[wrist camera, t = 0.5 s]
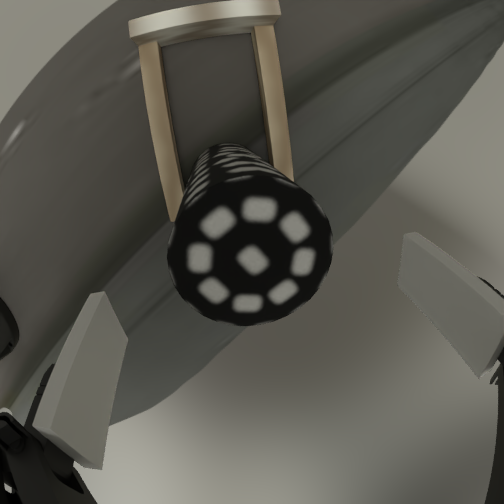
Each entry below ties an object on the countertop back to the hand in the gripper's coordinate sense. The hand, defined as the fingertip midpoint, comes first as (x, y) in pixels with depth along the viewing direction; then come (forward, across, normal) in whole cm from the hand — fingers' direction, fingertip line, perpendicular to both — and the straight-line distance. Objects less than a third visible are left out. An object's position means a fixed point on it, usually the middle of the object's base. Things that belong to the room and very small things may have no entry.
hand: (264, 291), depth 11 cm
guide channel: (+23, 0, +7) cm, 24 cm away
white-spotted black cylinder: (+23, 0, 0) cm, 23 cm away
